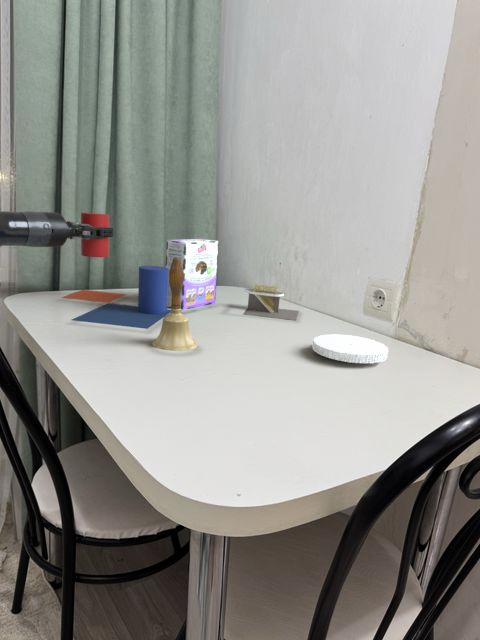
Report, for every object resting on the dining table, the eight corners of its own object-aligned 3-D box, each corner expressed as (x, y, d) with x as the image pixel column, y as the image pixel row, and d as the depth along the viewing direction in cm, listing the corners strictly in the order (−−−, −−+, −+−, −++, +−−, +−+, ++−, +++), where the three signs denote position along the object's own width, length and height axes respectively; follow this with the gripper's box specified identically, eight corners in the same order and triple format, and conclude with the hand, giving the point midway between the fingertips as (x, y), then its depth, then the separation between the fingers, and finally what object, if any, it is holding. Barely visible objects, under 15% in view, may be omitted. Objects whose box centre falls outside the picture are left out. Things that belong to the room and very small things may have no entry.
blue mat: (70, 321, 102) (70, 319, 102) (108, 304, 121) (108, 303, 120) (147, 330, 101) (147, 328, 101) (173, 311, 119) (173, 310, 119)
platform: (295, 320, 122) (298, 293, 120) (223, 311, 124) (224, 285, 122) (299, 310, 134) (301, 286, 132) (232, 303, 135) (234, 278, 134)
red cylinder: (76, 255, 121) (76, 212, 118) (88, 253, 127) (88, 212, 125) (102, 258, 121) (102, 215, 118) (112, 255, 127) (113, 214, 124)
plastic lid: (297, 354, 94) (298, 341, 93) (334, 342, 105) (336, 330, 104) (365, 374, 86) (367, 360, 86) (398, 359, 97) (400, 346, 96)
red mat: (60, 298, 122) (60, 297, 122) (83, 291, 133) (82, 289, 133) (108, 304, 121) (108, 302, 121) (127, 295, 133) (127, 294, 132)
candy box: (197, 300, 134) (201, 237, 130) (215, 304, 132) (219, 240, 127) (163, 307, 123) (165, 238, 118) (182, 311, 120) (185, 241, 116)
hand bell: (158, 354, 87) (161, 260, 83) (146, 340, 94) (149, 254, 90) (204, 351, 91) (209, 262, 86) (189, 339, 98) (193, 256, 93)
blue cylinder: (134, 312, 113) (134, 267, 111) (143, 307, 119) (144, 264, 117) (161, 315, 113) (163, 270, 110) (169, 310, 119) (171, 267, 116)
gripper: (22, 243, 116) (85, 243, 129) (59, 250, 108) (122, 249, 121) (21, 209, 114) (85, 212, 127) (58, 214, 106) (122, 217, 119)
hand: (103, 230), depth 124 cm, fingers closed on red cylinder, 6 cm apart
